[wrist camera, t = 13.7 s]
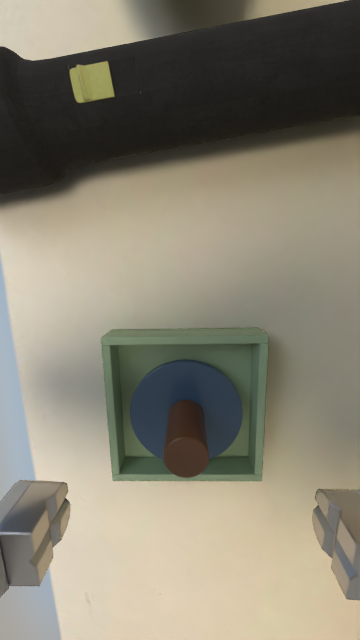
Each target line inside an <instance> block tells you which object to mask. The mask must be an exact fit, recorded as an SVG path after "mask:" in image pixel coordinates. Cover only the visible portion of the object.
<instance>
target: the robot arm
mask: <svg viewBox="0 0 360 640" xmlns="http://www.w3.org/2000/svg"><path fill="white" fill-rule="evenodd" d="M67 493H68V487H67V483H65V482H52V481H31V480H20V481H18V482H17V483H15V484H14V485H13V486H12V488H11V489H10V490H9V491H8V493H7V494H6V495H5V496H4V497H3V499H2V500H1V501H0V597H1V596H2V595H3V594H4V593H5V592H6V591H7V590H8V589H9V586H40V584H41V582H42V580H43V578H44V576H45V574H46V571H47V569H48V567H49V565H50V563H51V561H52V559H53V549H52V548H53V547H54V546H55V545H56V544H57V543H58V542H59V541H60V540H62V537H63V535H64V533H65V531H66V528H67V525H68V521H69V517H70V502H69V501H68V500H67V499H66V498H65V497H66V495H67ZM315 499H316V501H317V503H318V506H317V507H316V508H315V509H314V510H313V525H314V531H315V533H316V536H317V539H318V541H319V543H320V546H321V548H322V549H323V550H324V551H325V552H326V553H327V554H328V555H329V556H330V557H331V558H332V563H331V569H332V571H333V573H334V575H335V577H336V579H337V581H338V583H339V585H340V587H341V589H342V591H343V593H344V595H345V597H346V599H350V600H360V490H349V489H318V490H317V492H316V496H315Z"/></svg>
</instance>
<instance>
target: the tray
mask: <svg viewBox="0 0 360 640" xmlns="http://www.w3.org/2000/svg"><path fill="white" fill-rule="evenodd" d="M268 342H269V335H268V334H266V333H265V332H263V331H262V330H260V329H259V328H203V329H135V330H111V331H110V332H108V333H107V334H105V335H104V336H102V337H101V344H102V356H103V368H104V380H105V392H106V405H107V417H108V429H109V441H110V453H111V466H112V478H113V481H262V466H263V446H264V425H265V405H266V384H267V364H268ZM180 359H190V360H198V361H202V362H205V363H208V364H210V365H212V366H214V367H216V368H217V369H219V370H220V371H222V372H223V373H224V374H225V375H226V376H227V377H228V378H229V379H230V380H231V381H232V383H233V384H234V386H235V388H236V390H237V392H238V394H239V396H240V400H241V403H242V409H243V417H242V424H241V427H240V430H239V433H238V435H237V437H236V438H235V440H234V442H233V443H232V444H231V445H230V446H229V448H227V449H226V450H225V451H224V452H223V453H221V454H220V455H219V456H217V457H215V458H213V459H211V460H209V462H208V465H207V467H206V469H205V470H204V471H203V472H202V473H201V474H199V475H197V476H195V477H191V478H182V477H178V476H176V475H174V474H172V473H171V472H170V471H169V470H168V469H167V468H166V466H165V464H164V460H163V459H160V458H158V457H157V456H155V455H153V454H152V453H151V452H149V451H148V450H147V449H146V448H145V447H144V446H143V445H142V444H141V442H140V441H139V440H138V438H137V436H136V435H135V433H134V430H133V428H132V424H131V419H130V405H131V400H132V397H133V394H134V392H135V390H136V388H137V386H138V384H139V383H140V381H141V380H142V379H143V378H144V377H145V376H146V374H148V373H149V372H150V371H151V370H153V369H154V368H156V367H157V366H159V365H162V364H164V363H166V362H170V361H174V360H180Z"/></svg>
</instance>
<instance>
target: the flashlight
mask: <svg viewBox="0 0 360 640" xmlns="http://www.w3.org/2000/svg"><path fill="white" fill-rule="evenodd" d="M359 114H360V0H349V1H344V2H339V3H333V4H328V5H323V6H318V7H313V8H308V9H303V10H298V11H293V12H287V13H282V14H277V15H272V16H267V17H262V18H257V19H252V20H246V21H241V22H236V23H231V24H226V25H221V26H216V27H211V28H205V29H200V30H195V31H190V32H185V33H180V34H175V35H170V36H164V37H159V38H154V39H149V40H144V41H139V42H134V43H129V44H123V45H118V46H113V47H108V48H103V49H98V50H93V51H88V52H82V53H77V54H72V55H67V56H62V57H57V58H52V59H45V60H36V61H31V60H25V59H23V58H21V57H20V56H19V55H17V54H16V53H15V52H13V51H11V50H10V49H8V48H6V47H0V194H5V193H10V192H15V191H20V190H25V189H30V188H35V187H40V186H45V185H48V184H51V183H54V182H57V181H60V180H62V178H63V177H64V176H65V174H66V172H67V170H68V169H69V168H71V167H73V166H77V165H81V164H85V163H90V162H96V161H102V160H107V159H113V158H118V157H124V156H130V155H135V154H141V153H146V152H152V151H158V150H163V149H169V148H174V147H180V146H186V145H191V144H197V143H202V142H208V141H214V140H219V139H225V138H230V137H236V136H242V135H247V134H253V133H259V132H264V131H270V130H275V129H281V128H287V127H292V126H298V125H303V124H309V123H315V122H320V121H326V120H331V119H337V118H343V117H348V116H354V115H359Z"/></svg>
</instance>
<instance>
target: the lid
mask: <svg viewBox="0 0 360 640" xmlns="http://www.w3.org/2000/svg"><path fill="white" fill-rule="evenodd" d="M242 417H243V409H242V403H241V400H240V396H239V394H238V392H237V390H236V388H235V386H234V384H233V383H232V381H231V380H230V379H229V378H228V377H227V376H226V375H225V374H224V373H223V372H222V371H220V370H219V369H217V368H216V367H214V366H212V365H210V364H208V363H205V362H202V361H198V360H190V359H180V360H174V361H170V362H166V363H164V364H162V365H159V366H157V367H156V368H154V369H153V370H151V371H150V372H149V373H148V374H146V376H145V377H144V378H143V379H142V380H141V381H140V383H139V384H138V386H137V388H136V390H135V392H134V394H133V397H132V400H131V405H130V419H131V424H132V428H133V430H134V433H135V435H136V436H137V438H138V440H139V441H140V442H141V444H142V445H143V446H144V447H145V448H146V449H147V450H148V451H149V452H151V453H152V454H153V455H155V456H157V457H158V458H160V459H163V460H164V464H165V466H166V468H167V469H168V470H169V471H170V472H171V473H172V474H174V475H176V476H178V477H182V478H191V477H195V476H197V475H199V474H201V473H202V472H203V471H204V470H205V469H206V467H207V465H208V462H209V460H211V459H213V458H215V457H217V456H219V455H220V454H221V453H223V452H224V451H225V450H226V449H227V448H229V446H230V445H231V444H232V443H233V442H234V440H235V438H236V437H237V435H238V433H239V430H240V427H241V424H242Z"/></svg>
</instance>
